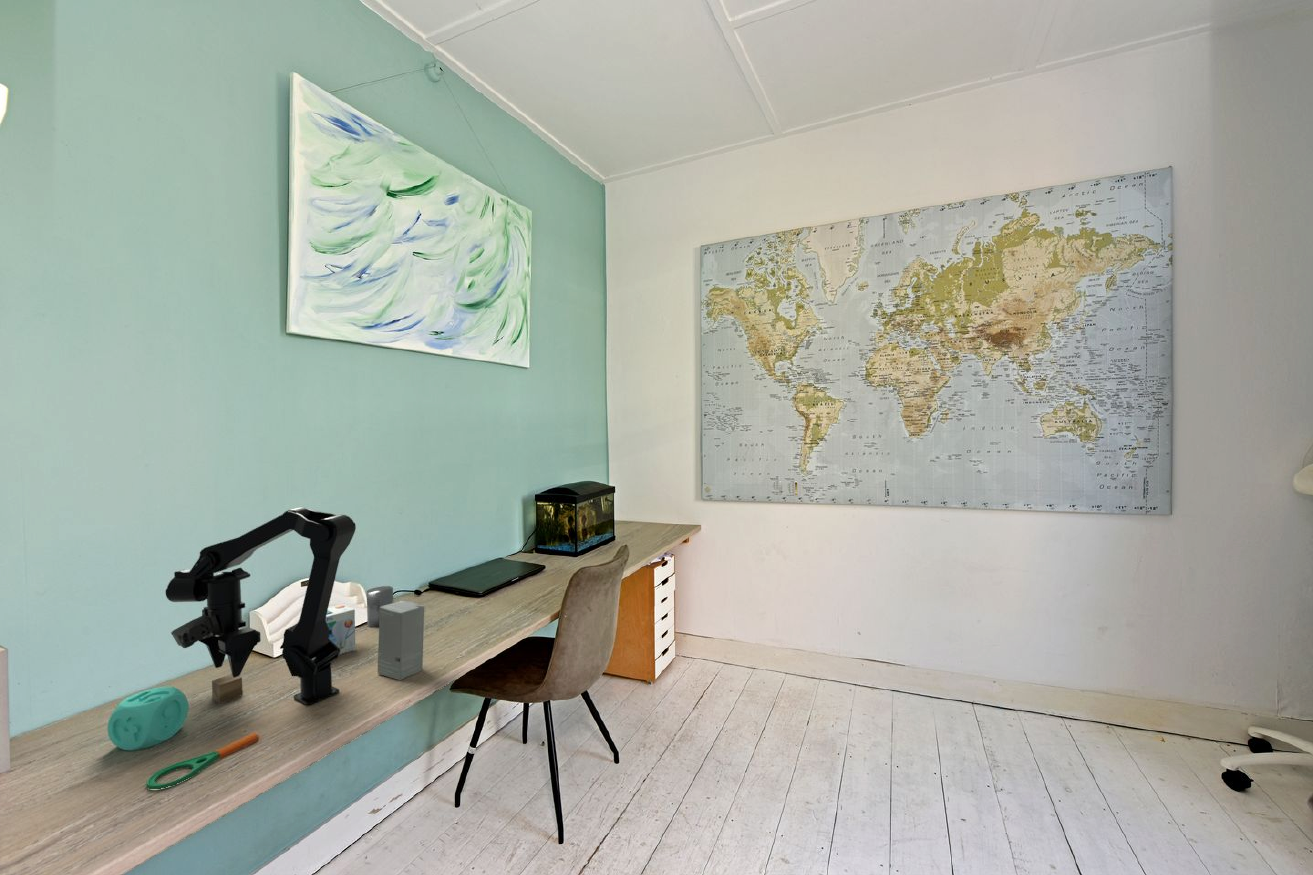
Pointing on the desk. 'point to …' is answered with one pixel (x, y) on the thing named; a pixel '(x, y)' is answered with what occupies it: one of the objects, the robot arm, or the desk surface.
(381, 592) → the grey rounded block
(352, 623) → the light bulb box
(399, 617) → the skincare box
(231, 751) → the magnifying glass
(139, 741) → the decorative dice
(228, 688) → the walnut cube
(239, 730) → the desk surface
